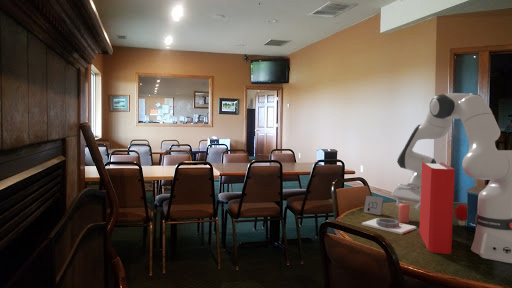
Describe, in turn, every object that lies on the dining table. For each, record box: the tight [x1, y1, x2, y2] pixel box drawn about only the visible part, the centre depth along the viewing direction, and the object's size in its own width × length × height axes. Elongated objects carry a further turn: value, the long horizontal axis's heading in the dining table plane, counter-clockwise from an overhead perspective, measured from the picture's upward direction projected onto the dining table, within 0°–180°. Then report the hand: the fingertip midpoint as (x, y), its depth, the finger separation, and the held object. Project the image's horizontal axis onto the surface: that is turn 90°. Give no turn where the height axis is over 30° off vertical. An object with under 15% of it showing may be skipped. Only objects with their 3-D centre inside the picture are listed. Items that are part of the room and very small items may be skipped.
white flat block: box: [361, 217, 417, 235], centre depth 177 cm, size 20×14×3 cm
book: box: [419, 161, 456, 255], centre depth 154 cm, size 27×8×32 cm, turn 163°
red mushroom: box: [453, 203, 468, 227], centre depth 180 cm, size 9×7×10 cm
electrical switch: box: [363, 195, 384, 216], centre depth 204 cm, size 9×5×9 cm, turn 49°
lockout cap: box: [397, 203, 411, 224], centre depth 187 cm, size 5×5×8 cm
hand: (406, 207), depth 189 cm, fingers open, 8 cm apart
